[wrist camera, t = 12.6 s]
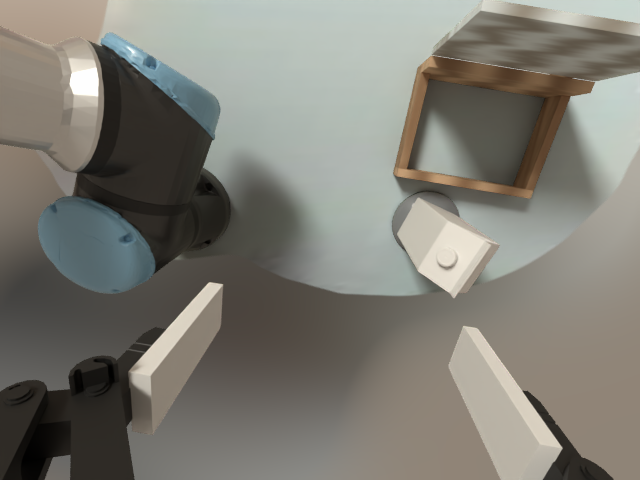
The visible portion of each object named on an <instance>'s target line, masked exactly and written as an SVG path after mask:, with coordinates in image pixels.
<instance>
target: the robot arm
mask: <svg viewBox="0 0 640 480" xmlns="http://www.w3.org/2000/svg"><path fill="white" fill-rule="evenodd" d="M101 45H102V46H99V45H97V44H95V43H92V42H90V41H88V40H85V39H83V38H80V37H72V38H69V39H66V40H64V41H62V42H59V43H57V44H54V45H49V44H45V43H42V42H40V41H37V40H35V39H32V38H29V37H27V36H24V35H22V34H19V33H16V32H14V31H11V30H9V29H6V28H3V27H1V26H0V144H2V145H8V146H14V147H20V148H27V149H33V150H39V151H43V152H44V153H46V154H47V155H48V156H49V157H51V158H52V159H53V160H54V161H55V162H56V163H57V164H58V165H59V166H60V167H61V168H62V169H63V170H65V171H68V172H73V173H77V177H76V182H75V187H74V192H73V195H72V196H67V197H62V198H60V199H58V200H57V201H56V202H54V203H53V204H50V205H49V206H47V207H46V208H45V210H44V211H43V212H42V214H41V216H40V219H39V223H38V234H39V239H40V243H41V245H42V247H43V250H44V252H45V253H46V255H47V257H48V258H49V260H51V261H52V262H53V263H54V265H55V266H56V268H57V269H58V270H59V271H60V272H61V273H62V274H63V275H65V276H66V277H67V278H69V279H70V280H71V281H73V282H74V283H76V284H78V285H80V286H82V287H84V288H87V289H89V290H92V291H96V292H100V293H119V292H123V291H127V290H130V289H132V288H133V287H135V286H137V285H139V284H141V283H143V282H146V281H147V280H148V279H150V277H152V275H153V274H154V273H156V272H157V271H158V270H160V269H161V268H162V267H164V266H165V265H166V264H168V263H169V262H171V261H172V260H173V259H175V258H176V257H177V256H179V255H180V254H181V253H183V252H185V251H194V250H199V249H203V248H205V247H207V246H209V245H211V244H212V243H213V242H215V241H216V240H217V239H218V238H219V237H220V236H221V235H222V234H223V233H224V231H225V230H226V228H227V226H228V223H229V219H230V203H229V199H228V196H227V193H226V191H225V189H224V188H223V186H222V184H221V183H220V182H219V180H218V179H217V178H216V177H215V176H214V175H213V174H211V173H210V172H209V171H207V170H206V169H204V168H203V166H204V163H205V160H206V157H207V154H208V151H209V148H210V145H211V142H212V140H214V139H215V134H214V133H215V129H216V126H217V123H218V119H219V116H220V106H219V103H218V100H217V99H216V97H215V96H214V95H213V94H211V93H210V92H209V91H207V90H206V89H204V88H203V87H201V86H200V85H198V84H196V83H195V82H193V81H192V80H190V79H188V78H187V77H185V76H184V75H182V74H180V73H179V72H177V71H175V70H174V69H172V68H171V67H169V66H167V65H166V64H164V63H162V62H160V61H158V60H157V59H155V58H154V57H152V56H151V55H149V54H147V53H146V52H144V51H143V50H141V49H139V48H138V47H136V46H135V45H133V44H131V43H130V42H128V41H126V40H124V39H123V38H121V37H119V36H118V35H116V34H114V33H107V34H106V35H105V37H104V38H102V39H101ZM222 296H223V284H218V283H212V282H209V283H208V284H207V285H206V286H205V287H204V288H203V290H202V291H201V292H200V293H199V294H198V295H197V296H196V297H195V298H194V300H193V301H192V302H191V303H190V304H189V305H188V306H187V307H186V308H185V309H184V311H183V312H182V313H181V314H180V315H179V316H178V317H177V318H176V320H175V321H174V322H173V323H172V324H171V325H170V326H169V327H168V328H167V329H161V328H156V327H155V328H153V329H151V330H149V331H148V332H146V333H144V334H143V335H142V336H141V337H140V338H139V339H138V340H137V341H136V342H135V344H133V345H132V346H131V347H130V348H129V349H128V350H127V351H126V352H125V353H124V354H123V355H122V356H121V357H120V358H119V359H118V360H117V361H116V359H115V358H113V357H111V356H96V357H92V358H89V359H86V360H84V361H82V362H80V363H79V364H77V365H76V366H75V367H74V368H73V369H72V370H71V371H70V374H69V384H70V389H68V390H57V391H47V387H46V385H45V384H44V383H43V382H41V381H38V380H28V381H23V382H19V383H16V384H14V385H11V386H9V387H7V388H5V389H4V390H2V391H1V392H0V480H44V479H45V476H46V474H47V471H48V469H49V466H50V464H51V461H52V458H53V457H58V456H65V455H71V468H70V476H71V477H70V480H134V474H133V467H132V461H131V454H130V447H129V441H128V434H127V428H126V427H127V425H128V424H129V422H130V421H132V431H133V432H139V433H144V434H150V435H153V434H154V432H155V431H156V429H157V427H158V426H159V424H160V423H161V421H162V420H163V418H164V416H165V415H166V413H167V412H168V410H169V408H170V407H171V405H172V403H173V402H174V400H175V399H176V397H177V396H178V394H179V392H180V391H181V389H182V388H183V386H184V385H185V383H186V381H187V380H188V378H189V377H190V375H191V373H192V372H193V370H194V369H195V367H196V365H197V364H198V362H199V361H200V359H201V358H202V356H203V354H204V353H205V351H206V350H207V348H208V346H209V345H210V343H211V342H212V340H213V339H214V337H215V335H216V334H217V332H218V331H219V329H220V327H221V314H222ZM448 367H449V369H450V372H451V374H452V376H453V378H454V380H455V382H456V384H457V386H458V389H459V391H460V393H461V395H462V397H463V399H464V402H465V404H466V406H467V408H468V410H469V412H470V415H471V417H472V419H473V421H474V423H475V425H476V427H477V430H478V432H479V434H480V436H481V438H482V440H483V442H484V445H485V447H486V449H487V451H488V453H489V455H490V457H491V460H492V462H493V464H494V466H495V468H496V470H497V473H498V475H499V477H500V479H501V480H613V478H612V477H611V476H610V475H609V474H608V473H607V472H606V471H605V470H604V469H602V468H601V467H599V466H598V465H597V464H595V463H593V462H591V461H590V460H588V459H585V458H582V457H581V456H580V455H579V453H578V452H577V450H576V449H575V448H574V447H573V445H572V444H571V442H570V441H569V440H568V438H567V437H566V436H565V434H564V433H563V432H562V430H561V429H560V428H559V426H558V425H556V424H555V421H554V420H553V419H552V417H551V416H550V415H549V413H548V412H547V410H546V409H545V408H544V406H543V405H542V404H541V402H540V401H538V400H537V399H536V398H535V397H534V396H533V395H531V393H529V392H528V391H522V390H521V389H520V388H519V386H518V385H517V383H516V382H515V380H514V379H513V378H512V376H511V375H510V373H509V372H508V371H507V369H506V368H505V366H504V365H503V364H502V362H501V361H500V359H499V358H498V357H497V356H496V354H495V352H494V351H493V349H492V348H491V347H490V345H489V344H488V343H487V341H486V340H485V338H484V337H483V335H482V334H481V333H480V331H479V330H478V328H473V327H467V326H463V328H462V331H461V333H460V336H459V339H458V341H457V344H456V347H455V349H454V352H453V355H452V357H451V360H450V363H449V366H448Z"/></svg>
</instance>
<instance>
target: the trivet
mask: <svg viewBox="0 0 640 480" xmlns="http://www.w3.org/2000/svg"><path fill="white" fill-rule="evenodd" d="M417 198H421V199H423V200H425V201H427V202H429V203H431V204H434V205H436V206H438V207H440V208H442V209H444V210H446V211H448V212H451V213H453V214H455V215H457V216H458V217H459V213H458V210H457V208H456V206H455V204H454V203H453V202H452V201H451V200H450V199H449V198H448V197H446V196H444V195H442V194H440V193H437V192H431V191H425V192H419V193H416V194H414V195H411V196H410V197H408V198H407V199H405V200H404V201H403V202H402V203H401V204H400V205H399V206H398V208H397V210H396V212H395V214H394V217H393V221H392V230H393V234H394V237H395V239H396V240H397V242H398V243H399V245H400V246H401V247H402V248H404V246H403V244H402V242H401V241H400V239H399V237H398V235H397V233H398V231H399V229H400V228H401V226H402V224H403V222H404V221H405V219H406V217H407V215H408V214H409V212H410V210H411V208H412V207H413V205H414V203H415V201H416V200H417ZM459 218H460V217H459ZM404 249H405V248H404ZM405 250H406V249H405Z"/></svg>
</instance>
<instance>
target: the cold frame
mask: <svg viewBox="0 0 640 480" xmlns="http://www.w3.org/2000/svg"><path fill="white" fill-rule="evenodd" d="M432 55H436V56H430V57H429V58H428V59H427V60H426V61H425V62H424V63H423V64H421V65H420V66H419V67H418V69H417V73H416V78H415V82H414V86H413V91H412V95H411V99H410V103H409V108H408V112H407V116H406V121H405V125H404V129H403V133H402V138H401V142H400V146H399V151H398V155H397V159H396V164H395V168H394V172H393V174H394V175H396V176H398V177H404V178H410V179H416V180H422V181H428V182H434V183H440V184H446V185H452V186H458V187H464V188H470V189H476V190H482V191H488V192H494V193H500V194H506V195H512V196H518V197H524V198H531V196H532V193H533V191H534V188H535V186H536V183H537V181H538V178H539V175H540V173H541V170H542V168H543V165H544V163H545V160H546V158H547V155H548V153H549V150H550V147H551V145H552V142H553V140H554V137H555V135H556V132H557V130H558V127H559V124H560V122H561V119H562V117H563V114H564V112H565V109H566V107H567V104H568V102H569V99H570V96H575V95H581V94H587V93H591V91H592V88H593V86H594V83H595V82H590V81H599V80H604V79H608V78H613V77H618V76H622V75H627V74H632V73H636V72H640V24H639V23H633V22H626V21H620V20H614V19H608V18H601V17H595V16H589V15H583V14H576V13H570V12H564V11H558V10H551V9H545V8H539V7H533V6H526V5H520V4H514V3H508V2H501V1H495V0H482V1H481V2H480V3H479V4H478V5H477V6H476V7H475V8H474V9H473V10H472V11H471V12H470V13H469V14H467V15H466V16H465V17H464V18H463V19H462V20H461V21H460V22H459V23H458V24H457V25H456V26H455V27H454V28H453V29H452V30H451V31H450V32H449V33H448V34H447V35H446V36H445V37H444V38H443V39H442V40H440V41H439V42H438V43H437V44H436V45H435V46H434V47H433V51H432ZM437 56H442V57H437ZM443 57H449V58H455V59H461V60H467V61H473V62H479V63H473V62H467V61H461V60H455V59H449V58H443ZM480 63H485V64H480ZM486 64H492V65H498V66H504V67H510V68H516V69H510V68H504V67H498V66H492V65H486ZM517 69H522V70H517ZM523 70H529V71H535V72H541V73H547V74H550V75H547V74H541V73H535V72H529V71H523ZM572 78H578V79H584V80H590V81H584V80H578V79H572ZM429 79H432V80H438V81H444V82H451V83H457V84H463V85H469V86H475V87H481V88H487V89H493V90H500V91H506V92H512V93H518V94H524V95H530V96H536V97H542V98H545V100H544V103H543V106H542V108H541V111H540V114H539V117H538V119H537V122H536V125H535V127H534V130H533V133H532V136H531V138H530V141H529V144H528V146H527V149H526V152H525V155H524V157H523V160H522V163H521V165H520V168H519V171H518V174H517V176H516V179H515V182H514V185H513V186H511V185H505V184H499V183H493V182H487V181H481V180H475V179H469V178H463V177H457V176H451V175H445V174H439V173H433V172H427V171H421V170H415V169H409V168H407V166H408V162H409V158H410V154H411V150H412V146H413V142H414V138H415V134H416V130H417V126H418V122H419V118H420V114H421V110H422V105H423V101H424V97H425V93H426V89H427V85H428V81H429Z"/></svg>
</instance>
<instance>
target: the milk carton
mask: <svg viewBox="0 0 640 480" xmlns="http://www.w3.org/2000/svg"><path fill="white" fill-rule="evenodd" d="M397 235H398V237H399V239H400V241H401V242H402V244H403V246H404V248H405V249H406V251H407V253H408V255H409V256H410V258H411V260H412V262H413V263H414V265H415V267H416V269H417V270H418V272H420V273H421V274H423V275H424V276H426V277H427V278H428V279H430V280H431V281H433V282H434V283H436V284H437V285H438V286H440V287H441V288H443V289H444V290H446V291H447V292H449V293H450V294H451V296H452V297H453V298H455V296H456V295H457V294H458V293H467V292H468V290H469V289H470V288H471V286H472V285H473V283H474V282H475V280H476V279H477V278H478V276H479V275H480V273H481V272H482V271H483V269H484V268H485V266H486V265H487V263H488V262H489V261H490V259H491V258H492V256H493V255H494V254H495V252H496V251H497V249H498V248H499V246H500V245H499V244H497V243H496V242H495V241H493V240H492V239H490V238H489V237H487V236H486V235H484V234H483V233H481V232H480V231H478V230H477V229H476V228H474V227H473V226H471V225H470V224H468V223H467V222H465V221H464V220H462V219H461V218H459V217H458V216H457V215H455V214H453V213H451V212H448V211H446V210H444V209H442V208H440V207H438V206H436V205H434V204H431V203H429V202H427V201H425V200H423V199H421V198H417V200H416V201H415V203H414V205H413V207H412V208H411V210H410V212H409V214H408V215H407V217H406V219H405V221H404V222H403V224H402V226H401V228H400V229H399V231H398V233H397Z"/></svg>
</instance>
